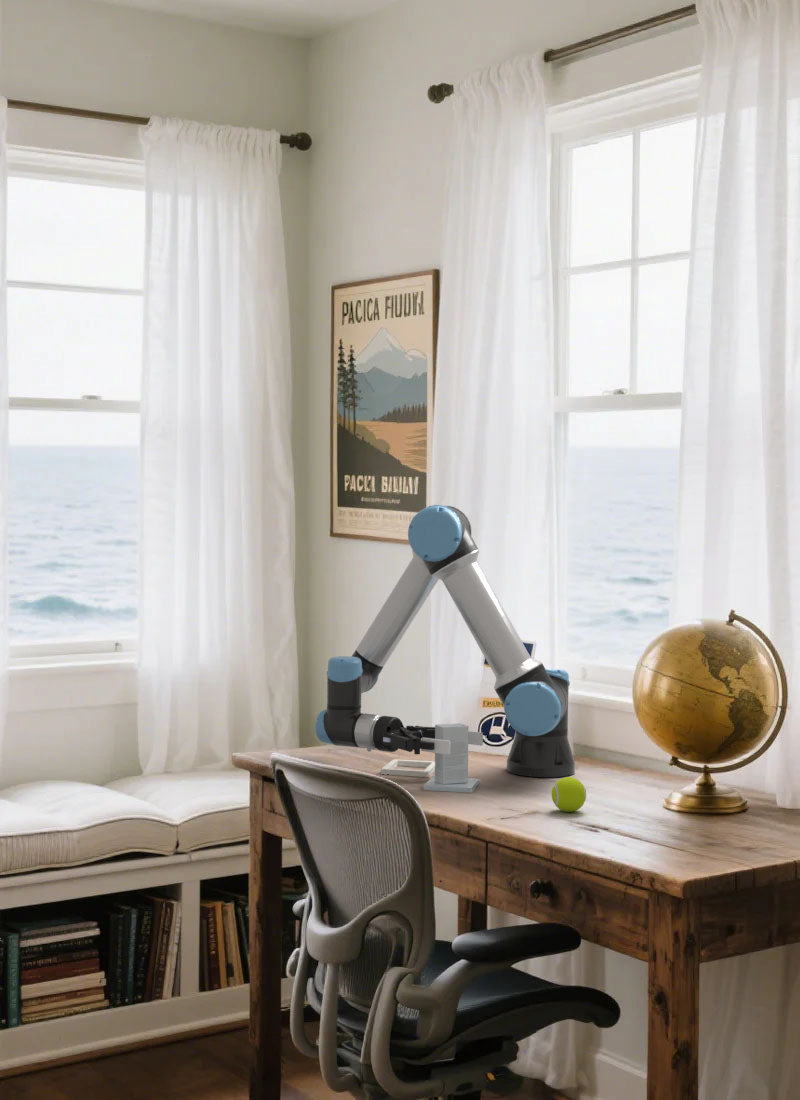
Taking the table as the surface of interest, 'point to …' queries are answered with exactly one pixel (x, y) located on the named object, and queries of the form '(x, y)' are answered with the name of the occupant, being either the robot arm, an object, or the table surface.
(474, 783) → the coaster
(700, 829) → the table surface
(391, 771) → the grey base tray
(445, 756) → the skincare box
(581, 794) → the tennis ball
